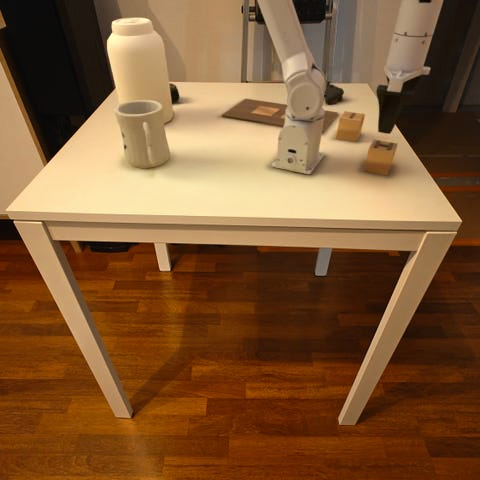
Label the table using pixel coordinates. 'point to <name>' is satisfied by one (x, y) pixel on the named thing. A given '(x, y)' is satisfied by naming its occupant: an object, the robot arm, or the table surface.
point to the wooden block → (380, 157)
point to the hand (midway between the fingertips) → (388, 124)
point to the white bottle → (139, 63)
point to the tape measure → (174, 92)
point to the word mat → (267, 113)
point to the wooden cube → (350, 126)
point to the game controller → (333, 93)
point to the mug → (143, 133)
